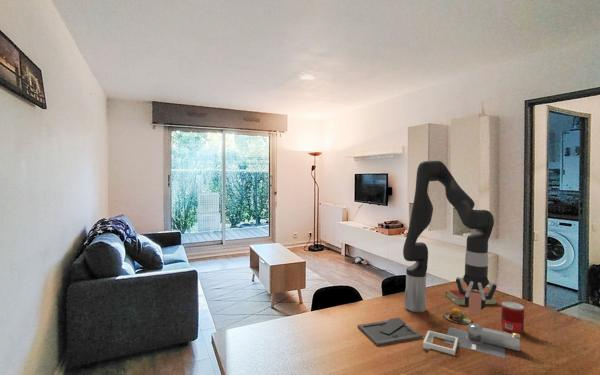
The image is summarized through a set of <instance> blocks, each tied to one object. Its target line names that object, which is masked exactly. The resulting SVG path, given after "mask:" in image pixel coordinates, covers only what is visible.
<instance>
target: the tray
mask: <svg viewBox="0 0 600 375" xmlns="http://www.w3.org/2000/svg"><path fill="white" fill-rule="evenodd" d="M435 338H438V339H442V340H445V339H446V340H450V341H453V342H454V345H452V346H453V347H452V348H449V347H446V346H442V345H439V344H434V343H433V341H434V340H435ZM457 344H458V338H457V337H453V336H449V335H447V334H444V333H442V332H441V333H440V332H438V331H437V332H436V331H433V330H427V332H426V335H425V337H424V339H423V342H422V349H423V350H426V351H430V350H434V351H437V352H442V353H446V354H449V355H453V356H456V353H457V348H458V346H457Z"/></svg>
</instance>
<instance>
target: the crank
mask: <svg viewBox="0 0 600 375" xmlns="http://www.w3.org/2000/svg"><path fill="white" fill-rule="evenodd" d="M467 331H468V338H469V339H470V340H472V341H475V342H485V343H489V344H493V345H497V346H501V347H505V349H509V350H514V351H517V352H520V345H521V344H520V343H521V342H520V341H521V334H519V333H515V332H513V333H509V332H506V331H505V332H504V331H500V330H496V329H491V328H487V327H483V326H482V325H480V324H478V323H474V322H472V323H469V324H467Z"/></svg>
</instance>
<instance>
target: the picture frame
mask: <svg viewBox="0 0 600 375" xmlns="http://www.w3.org/2000/svg"><path fill="white" fill-rule="evenodd" d="M357 328H358V329H359V330H360V331H361V332H362V333H363V334H364V335H365V336H366V337H367V338H368V339H369V340H370V341H371V342H372V343H373V344H374V345H375V346H376V347H380V346H386V345H390V344H397V343H401V342H402V343H403V342H409V341H413V340H419V339H423V335H422V334H421V333H420V332H418V330H416V329H414V328H412V326H409V325H408V324H407V323H406V322H405V321H404V320H402V319H401V318H400V317H395V318H389V319H387V320H382V321H376V322H375V321H373V322H370V323H367V322H366V323H363V324H362V323H361V324H358V325H357Z"/></svg>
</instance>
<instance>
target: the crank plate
mask: <svg viewBox="0 0 600 375" xmlns="http://www.w3.org/2000/svg"><path fill="white" fill-rule="evenodd" d="M446 335H449V336H453V337H457V338H458V344H457V347H461V348H462V349H463V348H464V349H468V350H471V351H474V352H479V353H483V354H487V355H490V356H493V357H497V358H502V359H506V348H505V347H501V346H497V345H493V344H489V343H485V342H475V341H472V340H470V339H469V338H468V330H464V329H460V328H455V327H452V326H449V327H448V330H447V333H446ZM444 343H445V344H449V345H452V346H454V342H453V341H450V340H446V339H444Z"/></svg>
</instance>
